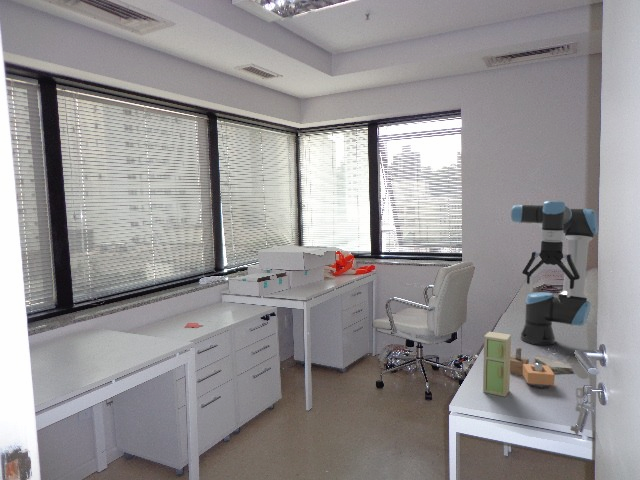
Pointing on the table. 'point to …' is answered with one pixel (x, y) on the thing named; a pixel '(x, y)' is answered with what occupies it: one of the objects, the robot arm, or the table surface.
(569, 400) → the table surface
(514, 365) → the stand
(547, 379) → the slotted orange block
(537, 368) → the hub
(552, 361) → the stone
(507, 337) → the toy refrigerator
